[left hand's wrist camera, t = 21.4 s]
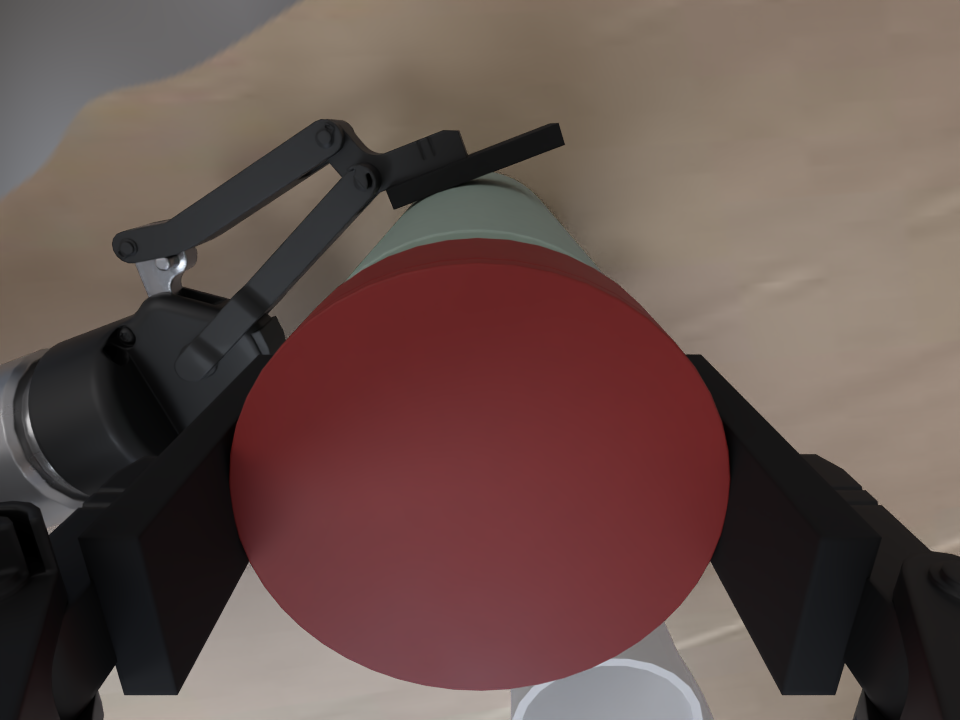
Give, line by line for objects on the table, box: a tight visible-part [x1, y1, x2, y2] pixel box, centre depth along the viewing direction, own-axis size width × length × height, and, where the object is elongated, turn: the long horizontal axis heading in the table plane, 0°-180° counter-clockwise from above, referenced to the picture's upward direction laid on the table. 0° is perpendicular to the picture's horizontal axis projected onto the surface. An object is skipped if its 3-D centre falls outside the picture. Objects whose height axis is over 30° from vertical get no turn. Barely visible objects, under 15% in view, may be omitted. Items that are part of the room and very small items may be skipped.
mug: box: [511, 622, 714, 720], centre depth 33 cm, size 11×9×10 cm
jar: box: [345, 172, 604, 282], centre depth 21 cm, size 8×8×20 cm
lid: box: [229, 238, 730, 691], centre depth 11 cm, size 9×9×2 cm
